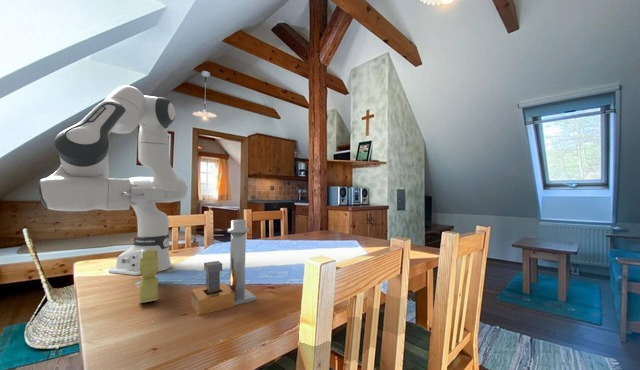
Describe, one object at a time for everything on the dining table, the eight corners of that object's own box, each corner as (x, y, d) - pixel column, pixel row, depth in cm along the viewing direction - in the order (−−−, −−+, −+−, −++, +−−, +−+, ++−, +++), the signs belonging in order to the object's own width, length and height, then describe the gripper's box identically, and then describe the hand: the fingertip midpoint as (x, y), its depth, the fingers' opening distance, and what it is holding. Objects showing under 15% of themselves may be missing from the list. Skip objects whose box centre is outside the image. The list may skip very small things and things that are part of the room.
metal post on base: (198, 315, 70) (200, 224, 70) (191, 303, 77) (193, 221, 78) (256, 300, 79) (257, 221, 80) (245, 291, 87) (246, 218, 88)
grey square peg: (206, 309, 74) (207, 265, 74) (203, 304, 77) (204, 262, 77) (221, 305, 76) (222, 263, 76) (217, 301, 79) (218, 260, 79)
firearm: (157, 292, 97) (158, 250, 100) (157, 303, 72) (159, 247, 75) (143, 294, 94) (144, 251, 97) (137, 306, 70) (140, 248, 73)
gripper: (122, 181, 65) (184, 183, 73) (122, 183, 81) (173, 184, 90) (121, 207, 65) (183, 205, 73) (122, 204, 81) (173, 203, 90)
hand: (178, 194), depth 82 cm, fingers open, 8 cm apart
